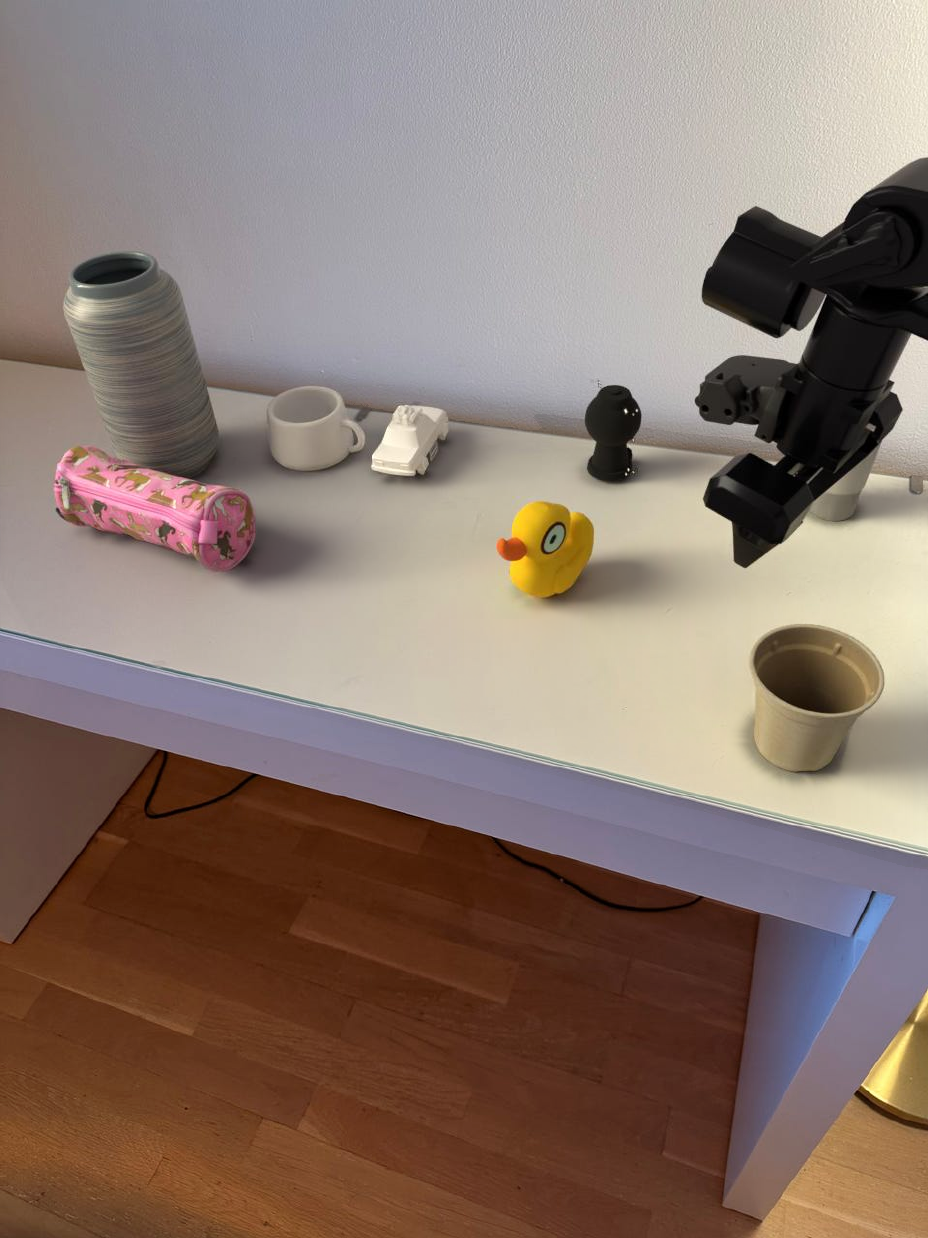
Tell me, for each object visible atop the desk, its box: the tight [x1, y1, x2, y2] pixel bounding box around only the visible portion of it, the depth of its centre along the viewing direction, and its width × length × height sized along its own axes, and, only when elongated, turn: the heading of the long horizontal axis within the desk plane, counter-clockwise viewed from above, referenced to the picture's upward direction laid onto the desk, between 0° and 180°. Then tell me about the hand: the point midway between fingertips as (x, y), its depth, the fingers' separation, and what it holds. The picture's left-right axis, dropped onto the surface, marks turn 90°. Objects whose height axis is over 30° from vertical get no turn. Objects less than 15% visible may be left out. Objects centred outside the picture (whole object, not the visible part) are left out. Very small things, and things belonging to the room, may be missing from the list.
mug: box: [265, 385, 366, 472], centre depth 106 cm, size 12×10×6 cm
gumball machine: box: [584, 379, 643, 482], centre depth 98 cm, size 7×6×10 cm
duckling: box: [496, 500, 595, 599], centre depth 85 cm, size 11×5×10 cm, turn 131°
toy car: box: [370, 404, 450, 477], centre depth 103 cm, size 6×12×7 cm, turn 162°
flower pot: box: [748, 623, 885, 773], centre depth 71 cm, size 9×9×9 cm
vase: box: [62, 250, 220, 479], centre depth 100 cm, size 12×12×23 cm
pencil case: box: [53, 445, 257, 573], centre depth 94 cm, size 21×9×9 cm, turn 63°
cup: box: [809, 424, 882, 522], centre depth 91 cm, size 7×7×12 cm
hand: (770, 534), depth 73 cm, fingers open, 9 cm apart
